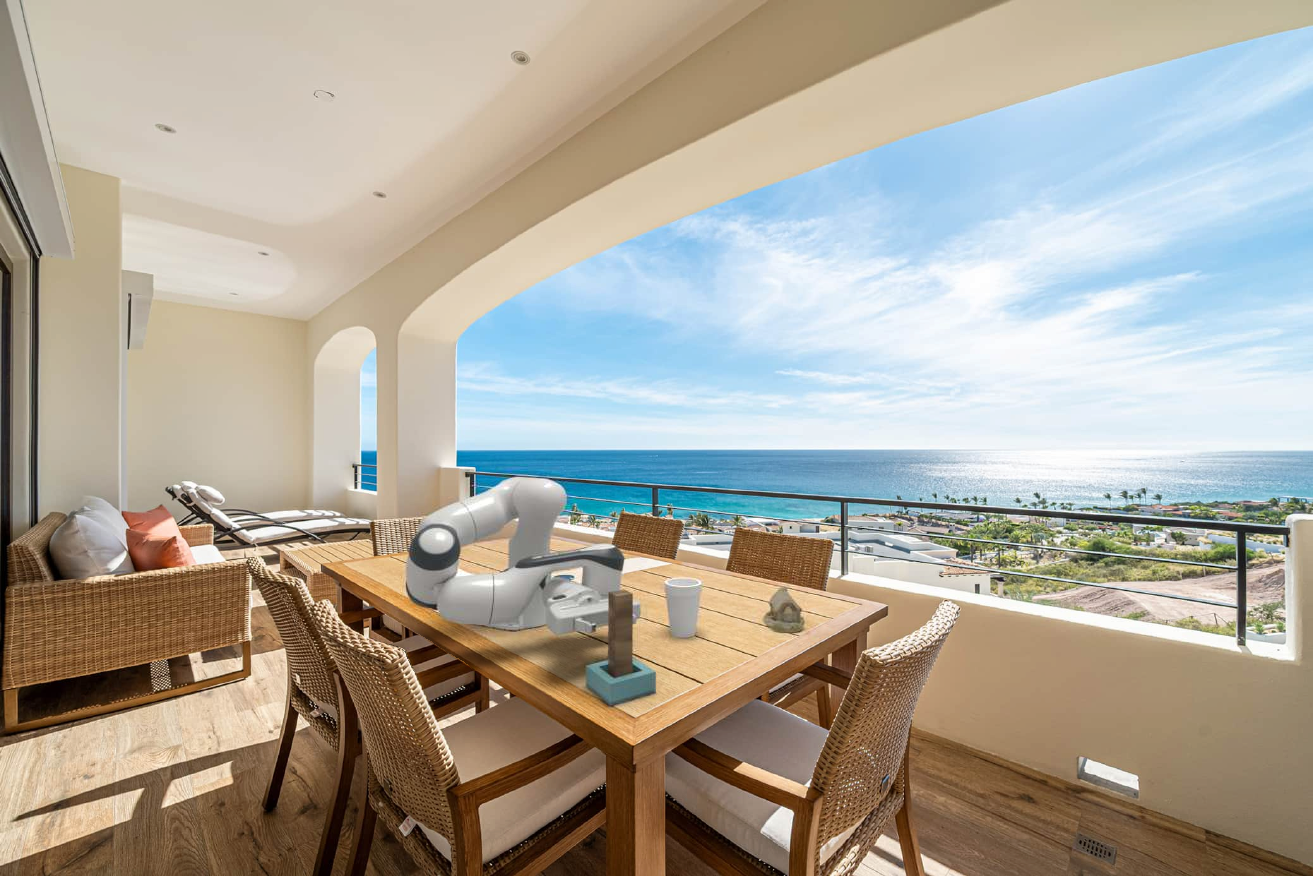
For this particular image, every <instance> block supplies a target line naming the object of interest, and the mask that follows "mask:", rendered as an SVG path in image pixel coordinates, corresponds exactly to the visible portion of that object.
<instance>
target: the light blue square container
mask: <svg viewBox="0 0 1313 876" xmlns="http://www.w3.org/2000/svg"><path fill="white" fill-rule="evenodd" d="M656 680H657V672H656V670H654V669H652V667H649V666H647V665H646V664H645V663H643V662H641V661H640V660H638V659H636V658H635V657H634V656H633V673H632V674H628V675H625V676H621V677H617V678H613V677H612V676H610V675H609V674H608V659H606V660H603V661H600V662H595V663H591V664H588V665H586V666H585V687H587V688H588V689H589V690H590V691H591V692H592V693H594V694H595V695H596V696H597V697H599V698H600V699H601V700H602V701H603V702H604V703H606V704H607V706H609V707H613V706H615V705H619V704H623V703H626V702H629V701H633V700H636V699H639V698H643V697H646V696H649V695H652V694H656V693H657V686H656V685H657V683H656V682H657V681H656Z"/></svg>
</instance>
